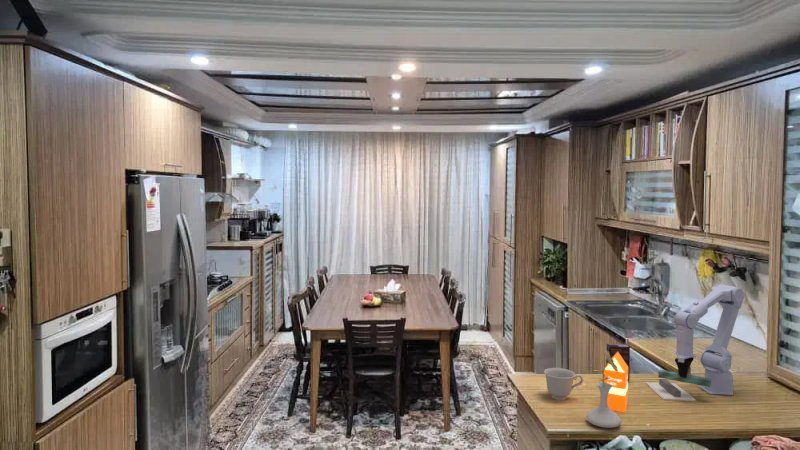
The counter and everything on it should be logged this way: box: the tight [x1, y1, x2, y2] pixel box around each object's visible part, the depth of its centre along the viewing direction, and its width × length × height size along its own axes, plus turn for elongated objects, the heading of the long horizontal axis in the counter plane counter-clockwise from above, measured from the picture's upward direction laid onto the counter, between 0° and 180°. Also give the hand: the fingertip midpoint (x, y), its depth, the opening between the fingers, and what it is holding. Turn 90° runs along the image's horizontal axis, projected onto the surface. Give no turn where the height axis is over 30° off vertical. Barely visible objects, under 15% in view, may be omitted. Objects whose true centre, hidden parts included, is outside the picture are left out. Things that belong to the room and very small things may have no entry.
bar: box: [657, 366, 711, 387], centre depth 200 cm, size 18×3×6 cm, turn 51°
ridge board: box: [645, 378, 697, 402], centre depth 206 cm, size 12×18×3 cm, turn 175°
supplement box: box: [605, 343, 631, 384], centre depth 218 cm, size 9×5×16 cm, turn 84°
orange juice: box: [603, 352, 629, 413], centre depth 191 cm, size 8×9×20 cm
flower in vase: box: [585, 350, 622, 429], centre depth 175 cm, size 13×11×25 cm
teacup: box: [543, 367, 584, 401], centre depth 198 cm, size 12×15×10 cm
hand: (683, 376), depth 200 cm, fingers closed on bar, 3 cm apart
